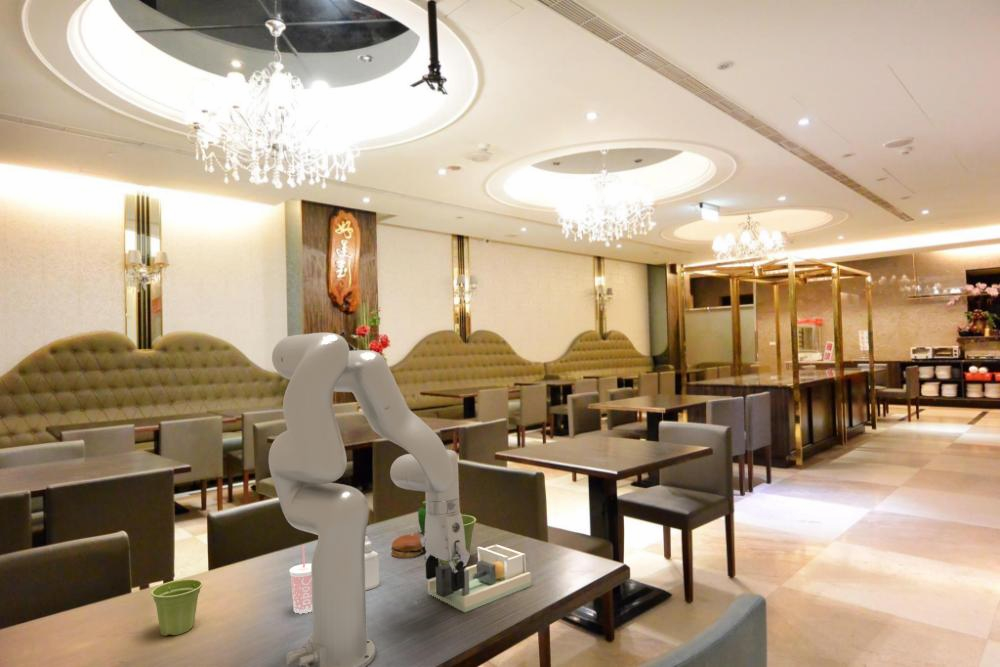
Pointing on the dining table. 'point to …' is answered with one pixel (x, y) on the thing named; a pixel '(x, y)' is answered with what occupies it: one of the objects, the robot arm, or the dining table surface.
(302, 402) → the robot arm
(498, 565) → the ball
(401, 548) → the burger
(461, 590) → the pitch
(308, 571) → the beverage cup
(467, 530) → the plant pot
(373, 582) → the eye dropper bottle
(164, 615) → the plant pot
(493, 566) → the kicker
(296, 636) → the dining table surface
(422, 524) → the bell pepper
